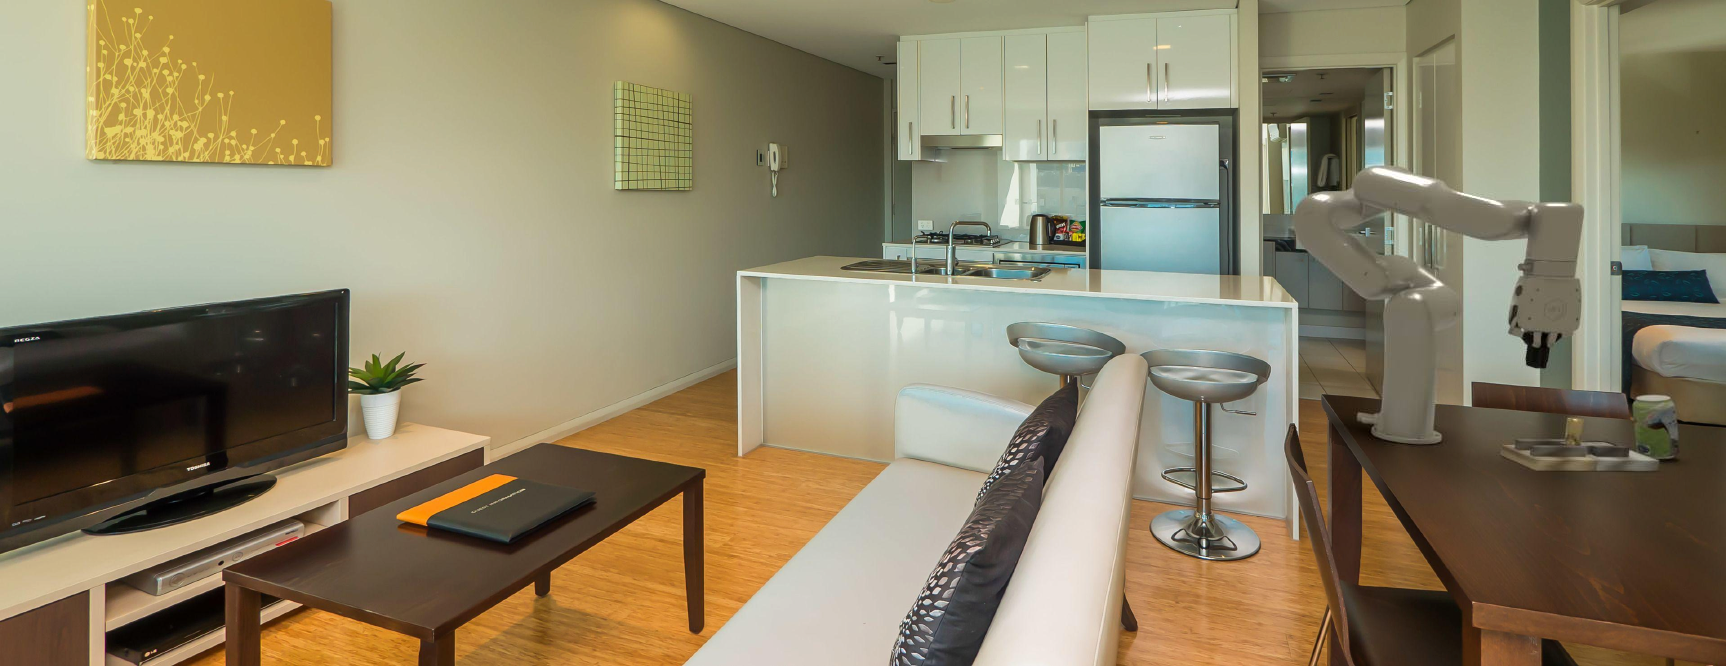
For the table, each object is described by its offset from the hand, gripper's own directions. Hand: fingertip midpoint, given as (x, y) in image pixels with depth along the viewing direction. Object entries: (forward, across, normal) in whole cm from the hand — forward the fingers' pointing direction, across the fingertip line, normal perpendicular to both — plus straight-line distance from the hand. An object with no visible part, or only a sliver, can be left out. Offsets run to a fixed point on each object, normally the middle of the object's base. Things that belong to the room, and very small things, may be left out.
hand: (1535, 366), depth 160 cm
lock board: (+18, +9, -1) cm, 20 cm away
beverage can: (+18, +25, +3) cm, 31 cm away
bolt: (+16, +10, -1) cm, 19 cm away
